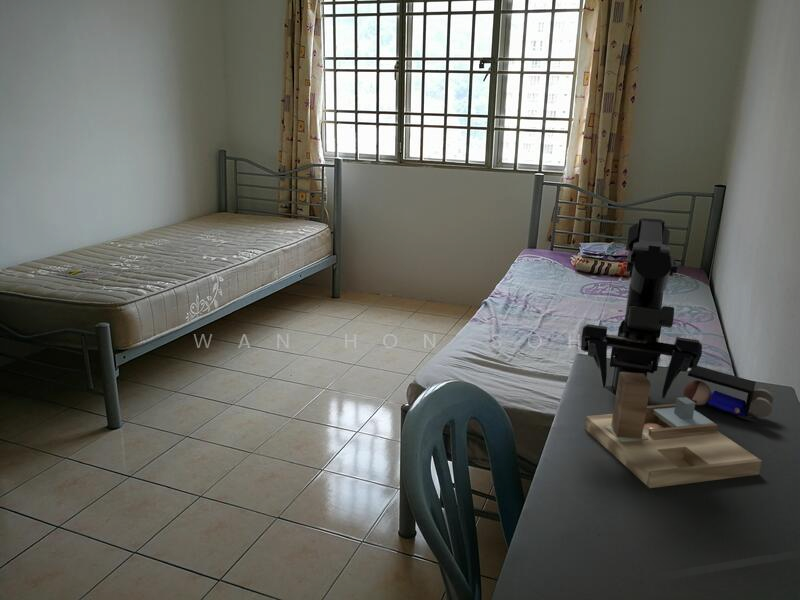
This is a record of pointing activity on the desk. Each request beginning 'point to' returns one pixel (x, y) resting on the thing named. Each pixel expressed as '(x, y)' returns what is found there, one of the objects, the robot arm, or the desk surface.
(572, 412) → the desk surface
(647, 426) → the ball
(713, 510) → the desk surface
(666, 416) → the lid
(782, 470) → the desk surface
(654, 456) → the puzzle board
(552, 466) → the desk surface
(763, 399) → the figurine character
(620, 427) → the peg
